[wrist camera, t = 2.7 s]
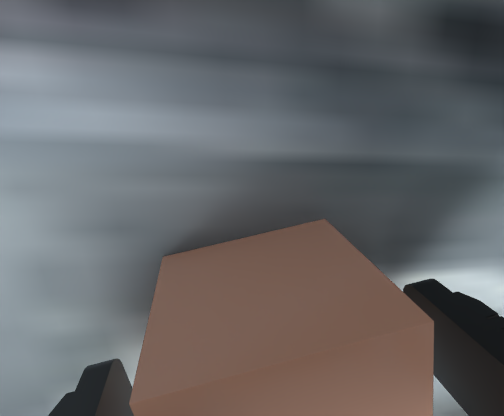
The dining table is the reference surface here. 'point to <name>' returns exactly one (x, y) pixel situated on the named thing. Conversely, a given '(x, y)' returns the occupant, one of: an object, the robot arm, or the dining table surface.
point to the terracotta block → (283, 333)
